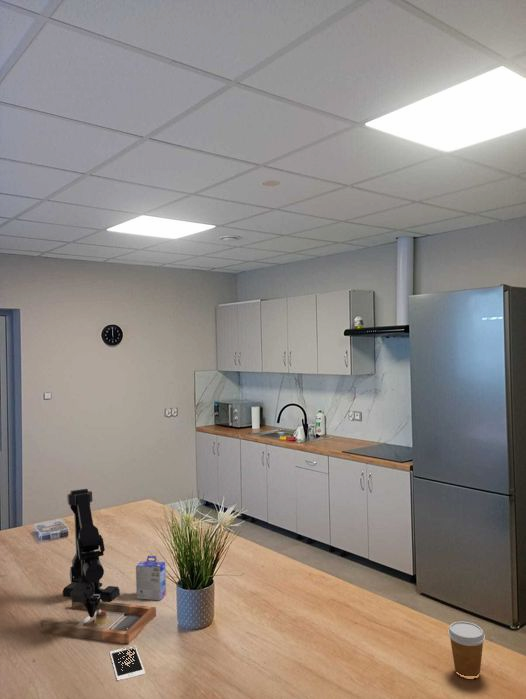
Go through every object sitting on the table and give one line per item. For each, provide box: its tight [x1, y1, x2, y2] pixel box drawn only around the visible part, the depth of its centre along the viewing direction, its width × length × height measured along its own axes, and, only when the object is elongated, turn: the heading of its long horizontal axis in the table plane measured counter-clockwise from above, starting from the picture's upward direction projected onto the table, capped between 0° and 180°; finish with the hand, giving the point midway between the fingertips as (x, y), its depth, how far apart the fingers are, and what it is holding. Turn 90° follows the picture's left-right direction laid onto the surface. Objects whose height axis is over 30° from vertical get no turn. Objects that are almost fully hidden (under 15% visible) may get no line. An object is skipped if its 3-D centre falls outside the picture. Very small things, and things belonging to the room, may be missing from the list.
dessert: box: [77, 609, 125, 629], centre depth 183 cm, size 12×12×5 cm
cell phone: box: [109, 645, 146, 681], centre depth 158 cm, size 8×16×1 cm, turn 23°
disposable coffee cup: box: [447, 621, 486, 676], centre depth 148 cm, size 10×10×12 cm
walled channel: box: [40, 600, 157, 645], centre depth 181 cm, size 32×18×3 cm, turn 74°
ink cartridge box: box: [135, 555, 167, 601], centre depth 200 cm, size 10×6×14 cm, turn 78°
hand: (91, 616), depth 182 cm, fingers closed
